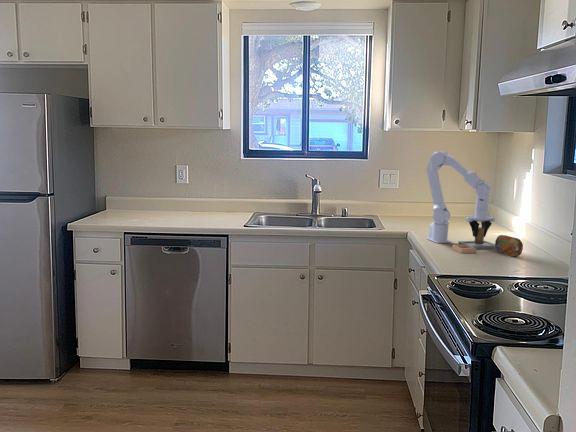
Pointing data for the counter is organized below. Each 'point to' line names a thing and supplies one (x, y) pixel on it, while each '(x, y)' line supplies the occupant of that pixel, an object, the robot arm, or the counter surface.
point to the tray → (478, 246)
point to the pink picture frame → (464, 248)
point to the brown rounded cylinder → (479, 236)
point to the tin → (509, 245)
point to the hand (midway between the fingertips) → (479, 236)
